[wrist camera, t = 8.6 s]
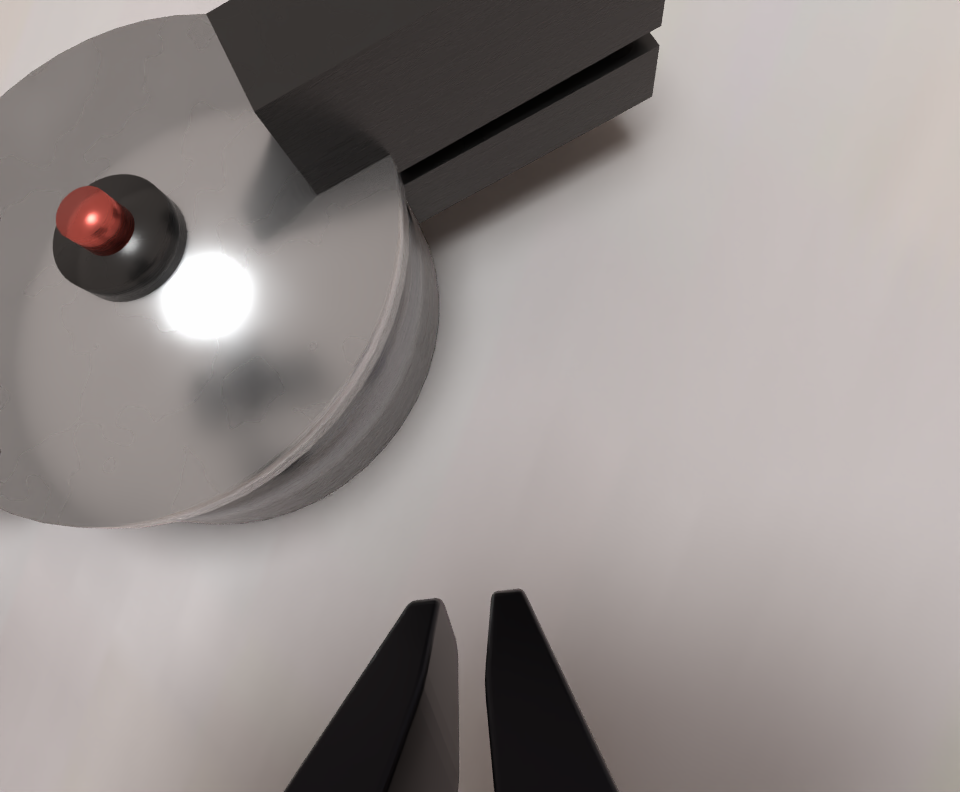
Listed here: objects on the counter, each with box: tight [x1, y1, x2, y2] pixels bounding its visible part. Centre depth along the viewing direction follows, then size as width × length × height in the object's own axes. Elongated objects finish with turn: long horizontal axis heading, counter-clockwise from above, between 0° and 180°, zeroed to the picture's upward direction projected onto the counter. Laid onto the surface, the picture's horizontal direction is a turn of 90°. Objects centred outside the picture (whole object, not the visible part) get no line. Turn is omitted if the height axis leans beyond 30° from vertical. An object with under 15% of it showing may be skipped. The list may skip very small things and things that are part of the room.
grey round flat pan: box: [178, 32, 659, 524], centre depth 20 cm, size 25×14×4 cm, turn 117°
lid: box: [0, 0, 665, 529], centre depth 15 cm, size 22×15×4 cm, turn 117°
